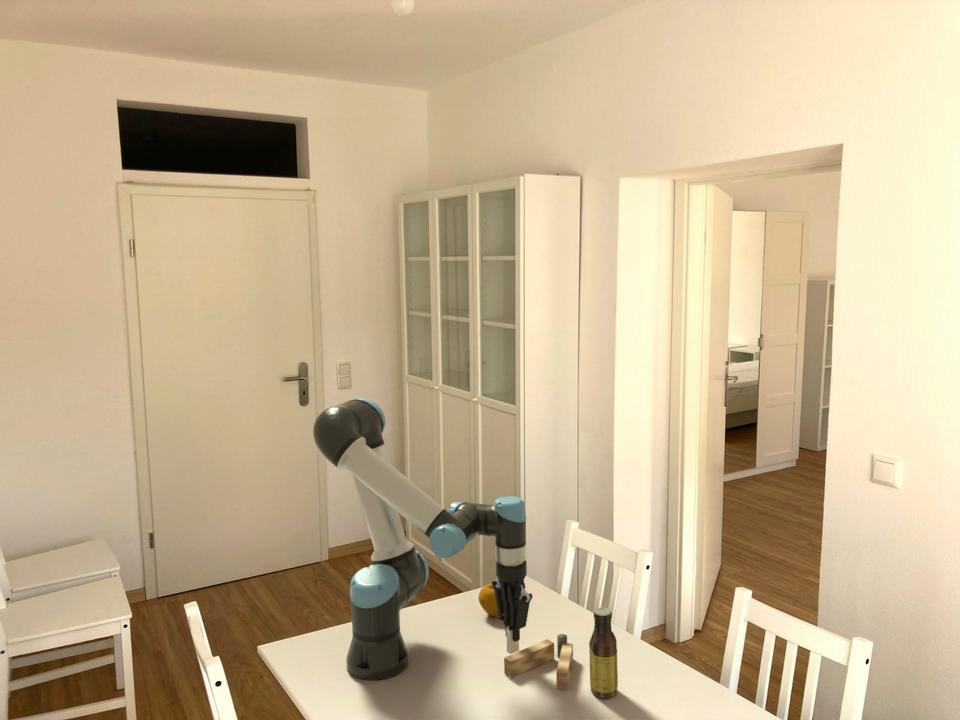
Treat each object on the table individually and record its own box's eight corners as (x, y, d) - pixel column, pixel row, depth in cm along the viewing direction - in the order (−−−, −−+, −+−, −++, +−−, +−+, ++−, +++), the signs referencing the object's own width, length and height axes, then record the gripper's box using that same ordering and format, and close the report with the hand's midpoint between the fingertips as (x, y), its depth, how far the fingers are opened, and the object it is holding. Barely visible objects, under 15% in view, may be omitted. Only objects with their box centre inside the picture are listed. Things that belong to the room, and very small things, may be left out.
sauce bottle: (599, 681, 182) (598, 601, 179) (622, 690, 178) (622, 608, 175) (584, 694, 177) (583, 611, 174) (608, 703, 173) (608, 619, 170)
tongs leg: (547, 654, 195) (547, 639, 194) (554, 658, 193) (554, 642, 192) (504, 673, 186) (504, 657, 186) (511, 677, 184) (510, 661, 184)
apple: (477, 608, 221) (477, 578, 220) (509, 606, 222) (508, 576, 221) (479, 622, 213) (479, 591, 211) (512, 621, 213) (511, 590, 212)
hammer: (558, 653, 195) (557, 633, 195) (573, 654, 195) (573, 634, 194) (550, 688, 180) (550, 667, 179) (567, 689, 179) (567, 668, 178)
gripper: (540, 564, 188) (541, 656, 191) (505, 549, 198) (507, 636, 201) (516, 572, 183) (518, 666, 186) (482, 556, 193) (484, 646, 196)
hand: (512, 651), depth 193 cm, fingers closed
